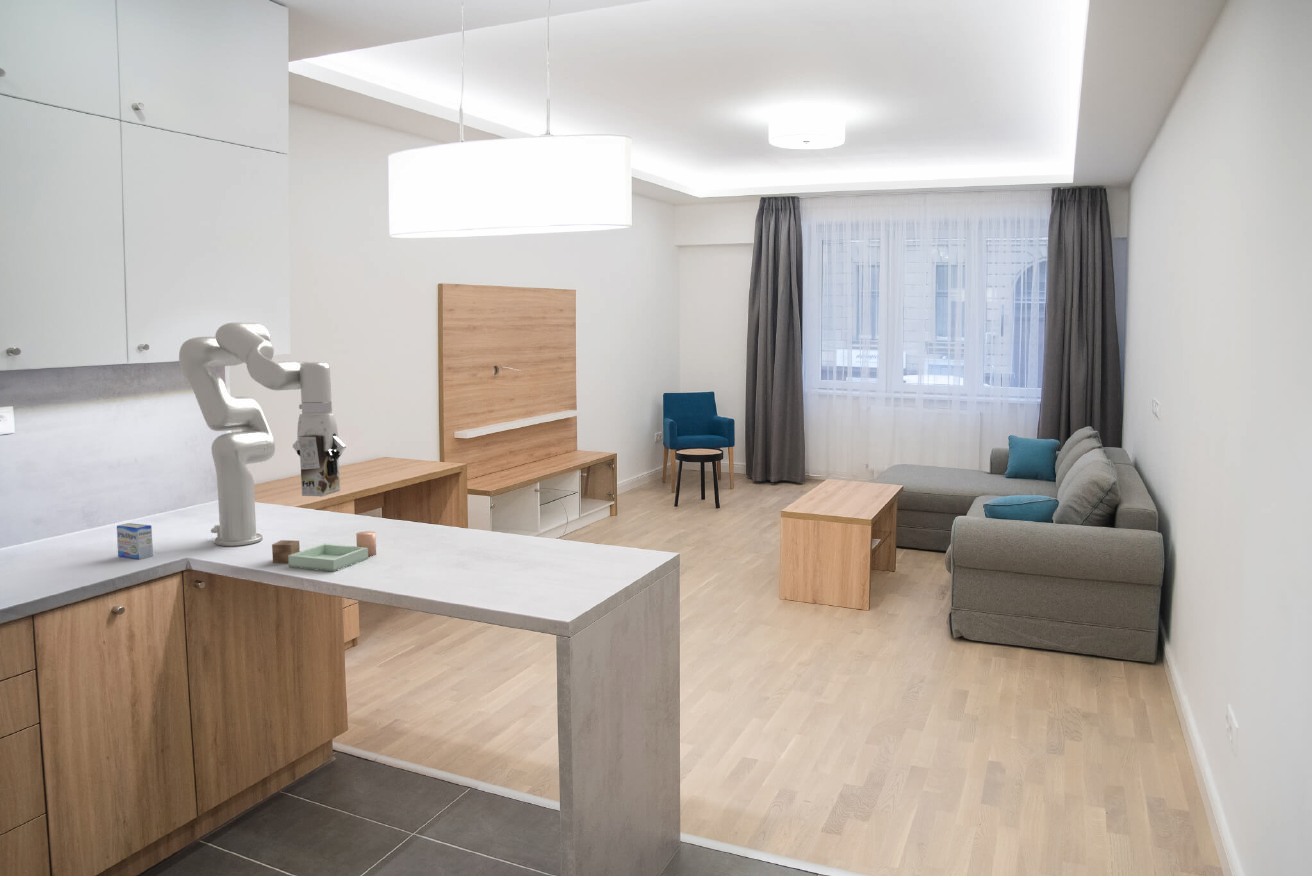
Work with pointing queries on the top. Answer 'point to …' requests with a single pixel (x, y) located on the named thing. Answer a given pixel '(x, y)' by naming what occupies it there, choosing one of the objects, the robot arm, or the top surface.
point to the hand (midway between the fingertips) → (320, 474)
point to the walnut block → (284, 550)
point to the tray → (328, 557)
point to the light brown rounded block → (367, 541)
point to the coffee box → (316, 468)
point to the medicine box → (134, 541)
